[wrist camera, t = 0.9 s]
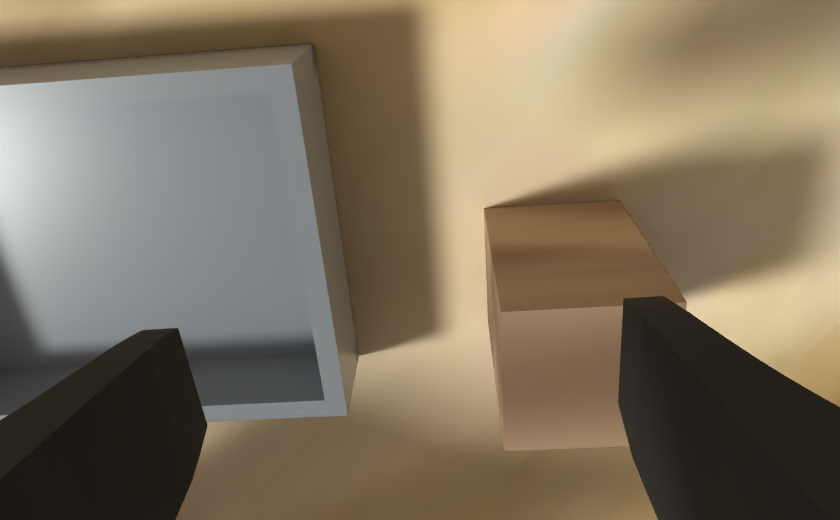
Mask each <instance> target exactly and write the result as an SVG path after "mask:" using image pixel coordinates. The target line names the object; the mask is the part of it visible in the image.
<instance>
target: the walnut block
mask: <svg viewBox="0 0 840 520" xmlns="http://www.w3.org/2000/svg"><path fill="white" fill-rule="evenodd" d="M484 221H485V249H486V277H487V305H488V325H489V333H490V341H491V349H492V357H493V365H494V373H495V381H496V389H497V397H498V405H499V413H500V421H501V429H502V437H503V445H504V451H522V450H547V449H572V448H596V447H621V446H629V442H628V439H627V435H626V432H625V428H624V424H623V420H622V416H621V412H620V408H619V405H618V392H619V373H620V354H621V335H622V316H623V298H637V297H653V296H664V297H666V298H668V299H669V300H671V301H673V302H674V303H676V304H677V305H679V306H680V307H682V308H683V309H685V310H686V305H687V302H686V300H685V299H684V297H683V296H682V294H681V293H680V291H679V290H678V288H677V287H676V285H675V284H674V282H673V281H672V279H671V278H670V276H669V275H668V273H667V272H666V270H665V269H664V267H663V266H662V264H661V262H660V261H659V259H658V258H657V256H656V255H655V253H654V252H653V250H652V249H651V247H650V246H649V244H648V243H647V241H646V240H645V238H644V237H643V235H642V234H641V232H640V231H639V229H638V228H637V226H636V225H635V223H634V222H633V220H632V219H631V217H630V216H629V214H628V213H627V211H626V209H625V208H624V206H623V205H622V203H621V202H620V200H612V201H596V202H579V203H563V204H547V205H530V206H514V207H498V208H484Z"/></svg>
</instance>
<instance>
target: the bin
mask: <svg viewBox="0 0 840 520" xmlns="http://www.w3.org/2000/svg"><path fill="white" fill-rule="evenodd" d="M166 328H178V329H179V332H180V336H181V339H182V342H183V346H184V349H185V352H186V356H187V359H188V362H189V366H190V369H191V372H192V376H193V379H194V382H195V386H196V389H197V392H198V395H199V399H200V402H201V405H202V409H203V412H204V415H205V419H206V422H215V421H238V420H260V419H283V418H305V417H328V416H348V410H349V405H350V400H351V394H352V389H353V383H354V378H355V373H356V367H357V362H358V351H357V344H356V337H355V330H354V323H353V316H352V308H351V301H350V294H349V287H348V280H347V273H346V266H345V259H344V252H343V245H342V238H341V231H340V224H339V217H338V210H337V203H336V196H335V189H334V182H333V175H332V168H331V161H330V154H329V147H328V140H327V133H326V126H325V119H324V112H323V105H322V98H321V91H320V84H319V77H318V70H317V63H316V56H315V49H314V43H310V44H297V45H284V46H271V47H257V48H244V49H231V50H218V51H205V52H192V53H179V54H166V55H153V56H140V57H127V58H114V59H101V60H88V61H74V62H61V63H48V64H35V65H22V66H9V67H0V420H1V419H3V418H4V417H6V416H8V415H9V414H11V413H12V412H14V411H16V410H17V409H19V408H21V407H22V406H24V405H25V404H27V403H29V402H30V401H32V400H33V399H35V398H36V397H38V396H39V395H41V394H42V393H44V392H45V391H47V390H48V389H50V388H51V387H53V386H54V385H56V384H57V383H59V382H60V381H62V380H63V379H65V378H66V377H68V376H69V375H71V374H72V373H74V372H75V371H77V370H78V369H80V368H81V367H83V366H84V365H86V364H87V363H89V362H90V361H92V360H93V359H95V358H96V357H98V356H100V355H101V354H103V353H104V352H106V351H107V350H109V349H110V348H112V347H113V346H115V345H117V344H118V343H120V342H122V341H123V340H125V339H127V338H128V337H130V336H132V335H134V334H136V333H138V332H140V331H142V330H151V329H166Z"/></svg>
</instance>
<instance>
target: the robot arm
mask: <svg viewBox="0 0 840 520" xmlns="http://www.w3.org/2000/svg"><path fill="white" fill-rule="evenodd" d="M618 405H619V408H620V412H621V416H622V420H623V424H624V428H625V432H626V435H627V439H628V442H629V446H630V450H631V453H632V457H633V460H634V462H635V465H636V467H637V470H638V472H639V474H640V477H641V479H642V482H643V484H644V487H645V489H646V491H647V494H648V496H649V499H650V501H651V504H652V506H653V508H654V511H655V513H656V515H657V518H658V520H840V407H838V406H836V405H835V404H833V403H831V402H829V401H827V400H825V399H824V398H822V397H820V396H819V395H817V394H815V393H813V392H812V391H810V390H808V389H806V388H805V387H803V386H801V385H800V384H798V383H796V382H794V381H793V380H791V379H789V378H788V377H786V376H784V375H783V374H781V373H779V372H778V371H776V370H775V369H773V368H771V367H770V366H768V365H766V364H765V363H763V362H762V361H760V360H759V359H757V358H756V357H754V356H752V355H751V354H749V353H748V352H746V351H745V350H743V349H742V348H740V347H739V346H737V345H736V344H734V343H733V342H731V341H730V340H728V339H727V338H725V337H724V336H722V335H721V334H719V333H718V332H717V331H715V330H714V329H712V328H711V327H709V326H708V325H706V324H705V323H703V322H702V321H701V320H699V319H698V318H696V317H695V316H693V315H692V314H690V313H689V312H688V311H686V310H685V309H683V308H682V307H680V306H679V305H677V304H676V303H674V302H673V301H671V300H669V299H668V298H666V297H664V296H653V297H637V298H623V316H622V335H621V354H620V373H619V392H618ZM206 429H207V422H206V419H205V415H204V412H203V409H202V405H201V402H200V399H199V395H198V392H197V389H196V386H195V382H194V379H193V376H192V372H191V369H190V366H189V362H188V359H187V356H186V352H185V349H184V346H183V342H182V339H181V336H180V332H179V329H178V328H166V329H151V330H142V331H140V332H138V333H136V334H134V335H132V336H130V337H128V338H127V339H125V340H123V341H122V342H120V343H118V344H117V345H115V346H113V347H112V348H110V349H109V350H107V351H106V352H104V353H103V354H101V355H100V356H98V357H96V358H95V359H93V360H92V361H90V362H89V363H87V364H86V365H84V366H83V367H81V368H80V369H78V370H77V371H75V372H74V373H72V374H71V375H69V376H68V377H66V378H65V379H63V380H62V381H60V382H59V383H57V384H56V385H54V386H53V387H51V388H50V389H48V390H47V391H45V392H44V393H42V394H41V395H39V396H38V397H36V398H35V399H33V400H32V401H30V402H29V403H27V404H25V405H24V406H22V407H21V408H19V409H17V410H16V411H14V412H12V413H11V414H9V415H8V416H6V417H4V418H3V419H1V420H0V520H175V519H176V517H177V514H178V512H179V510H180V508H181V505H182V503H183V501H184V498H185V496H186V494H187V491H188V489H189V487H190V484H191V482H192V479H193V476H194V472H195V469H196V466H197V462H198V459H199V456H200V452H201V448H202V444H203V441H204V437H205V433H206Z"/></svg>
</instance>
